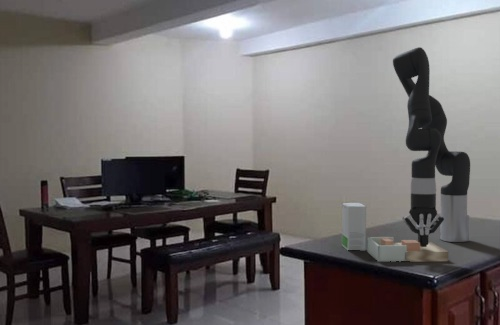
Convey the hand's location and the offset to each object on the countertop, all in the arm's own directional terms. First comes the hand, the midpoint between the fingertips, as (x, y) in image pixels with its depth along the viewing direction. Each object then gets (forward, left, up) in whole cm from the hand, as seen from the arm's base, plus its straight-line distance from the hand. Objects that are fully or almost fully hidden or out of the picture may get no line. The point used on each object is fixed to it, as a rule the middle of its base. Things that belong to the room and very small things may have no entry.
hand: (423, 246), depth 155 cm
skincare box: (+18, -16, -4) cm, 25 cm away
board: (0, -3, -4) cm, 5 cm away
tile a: (+8, -6, -1) cm, 11 cm away
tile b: (+4, 0, -1) cm, 4 cm away
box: (+11, -3, -4) cm, 12 cm away
